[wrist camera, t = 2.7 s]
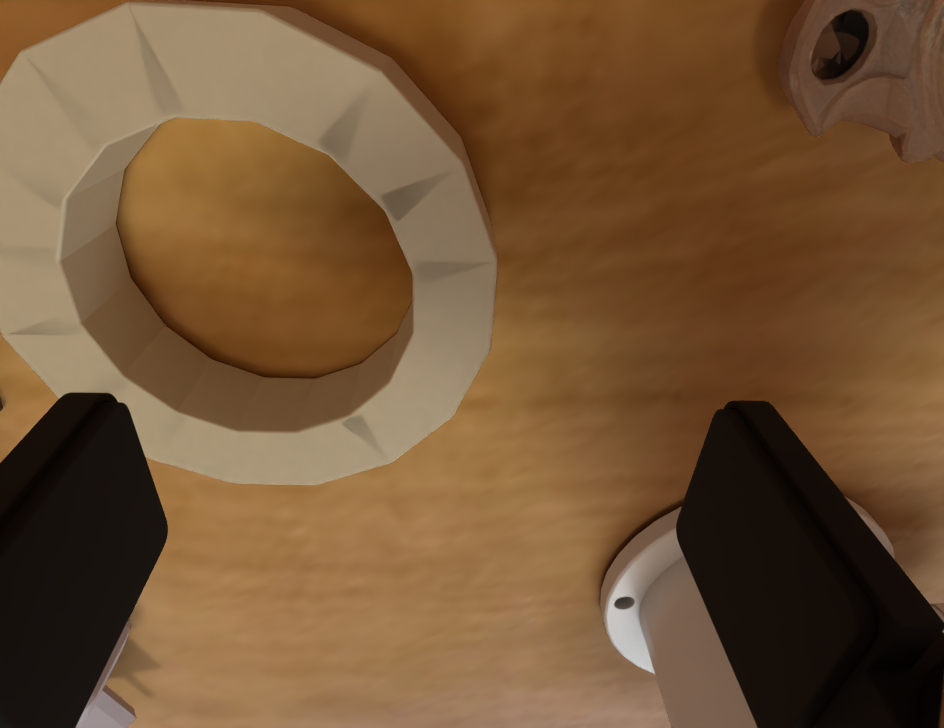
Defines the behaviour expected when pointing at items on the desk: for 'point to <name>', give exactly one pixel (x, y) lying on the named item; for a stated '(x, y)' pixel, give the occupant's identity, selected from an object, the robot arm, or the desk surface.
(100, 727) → the charger
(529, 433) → the desk surface
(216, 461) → the tape
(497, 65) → the desk surface
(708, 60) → the desk surface
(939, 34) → the oil lamp
